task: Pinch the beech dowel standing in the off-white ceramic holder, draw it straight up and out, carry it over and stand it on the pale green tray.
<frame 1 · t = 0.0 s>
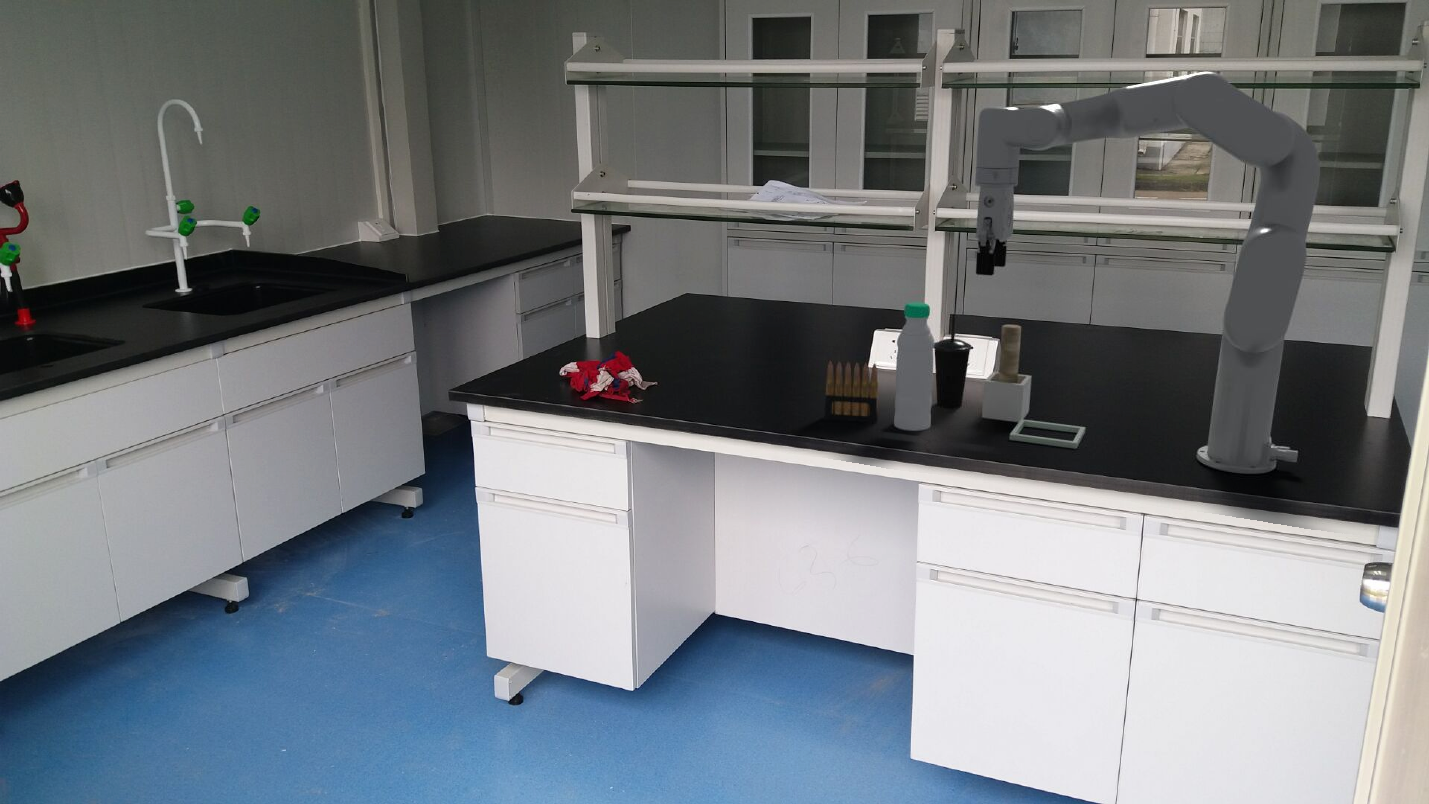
hand: (990, 270, 196), 31 cm above the worktop, tool pointing down, fingers open, 9 cm apart
water bottle: (912, 430, 206), on the worktop
dowel: (1005, 414, 211), point 1 cm above the worktop, touching holder
drinking cup: (948, 409, 218), on the worktop
tray: (1047, 440, 198), on the worktop
ammunition clip: (851, 420, 212), on the worktop
holder: (1005, 419, 211), on the worktop
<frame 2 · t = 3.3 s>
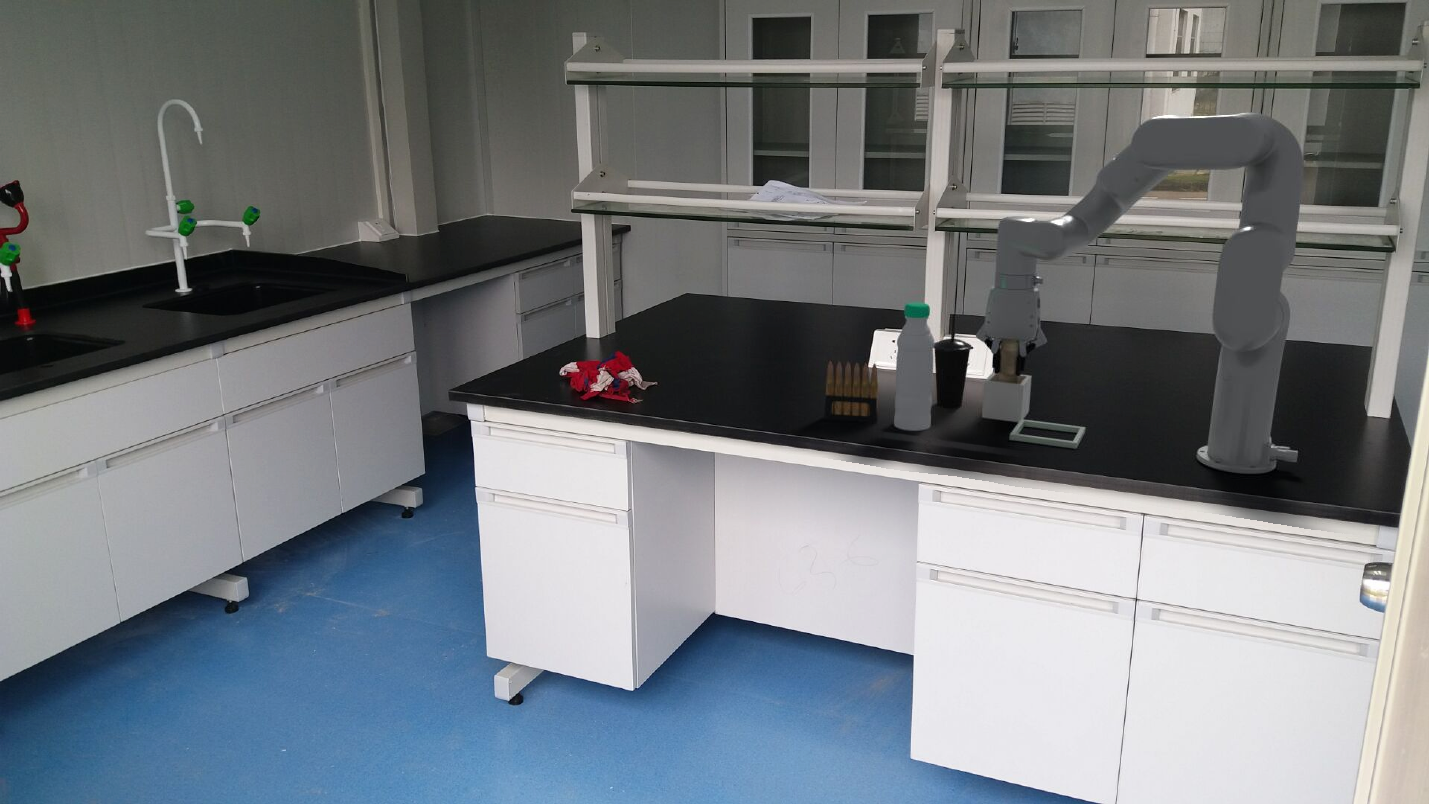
hand: (1008, 372, 208), 10 cm above the worktop, tool pointing down, fingers closed on dowel, 3 cm apart
dowel: (1005, 414, 211), point 1 cm above the worktop, touching gripper, holder
everything else where it was.
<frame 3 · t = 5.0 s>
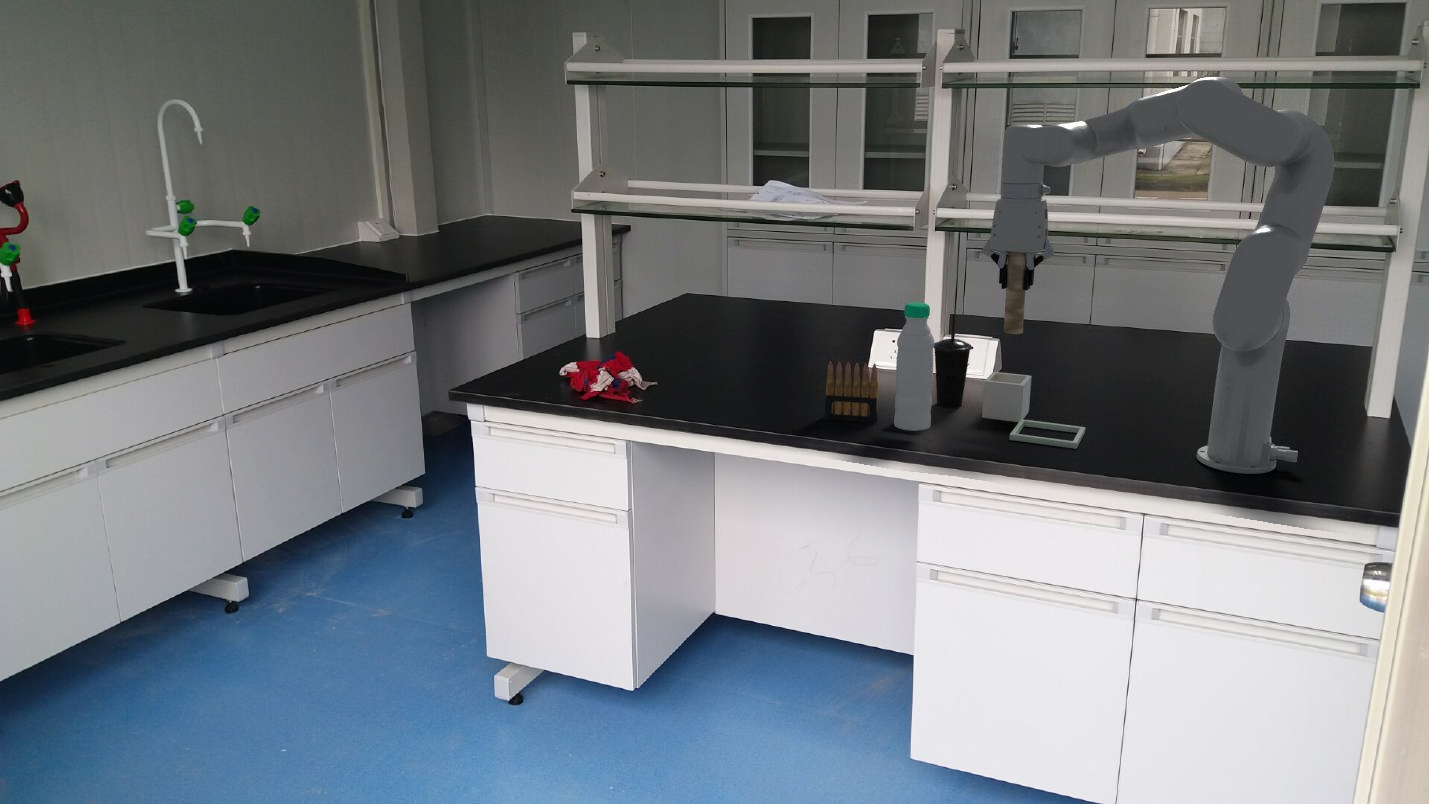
hand: (1015, 287, 203), 27 cm above the worktop, tool pointing down, fingers closed on dowel, 3 cm apart
dowel: (1013, 331, 206), point 18 cm above the worktop, touching gripper
everything else where it was.
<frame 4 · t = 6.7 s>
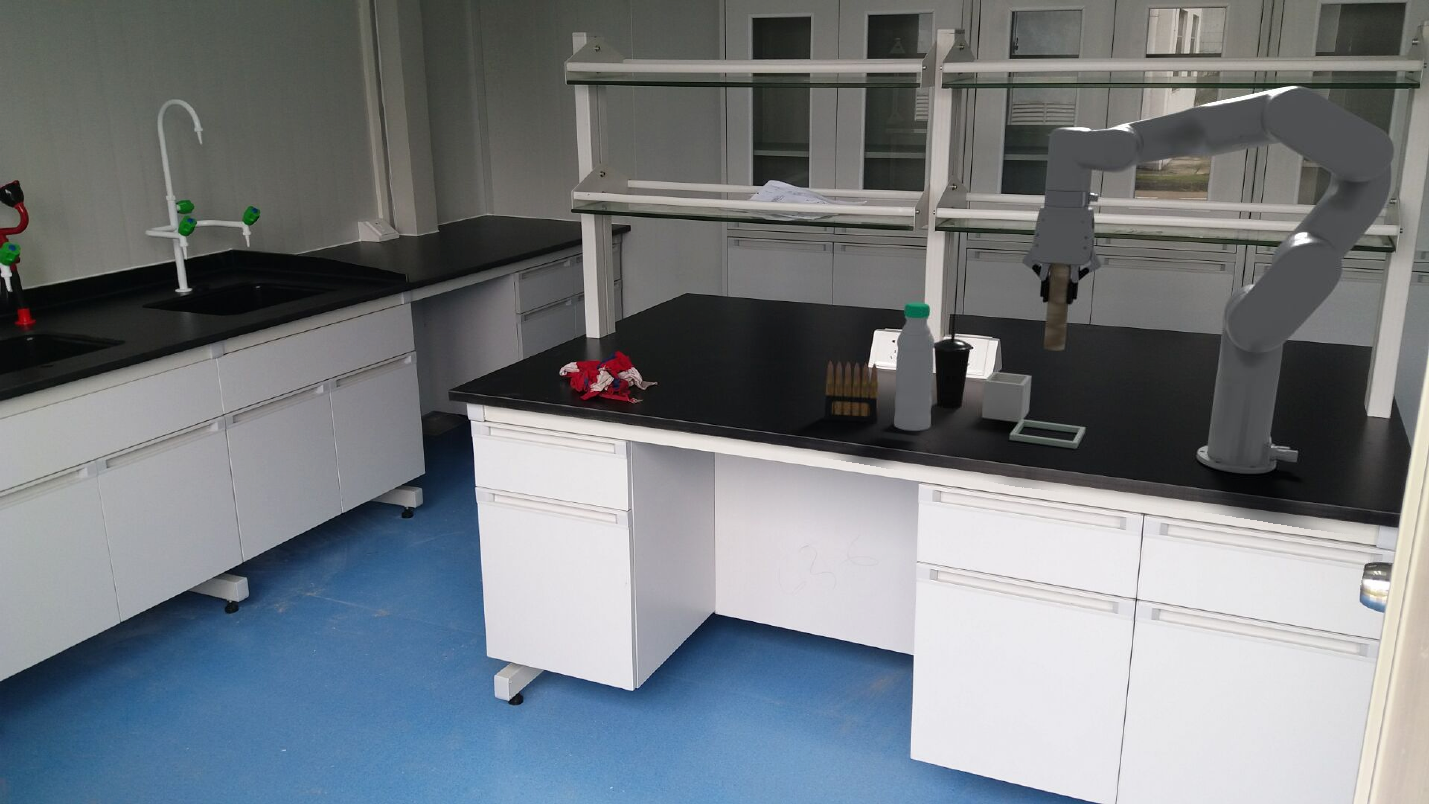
hand: (1058, 301, 190), 27 cm above the worktop, tool pointing down, fingers closed on dowel, 3 cm apart
dowel: (1054, 348, 193), point 18 cm above the worktop, touching gripper
everything else where it was.
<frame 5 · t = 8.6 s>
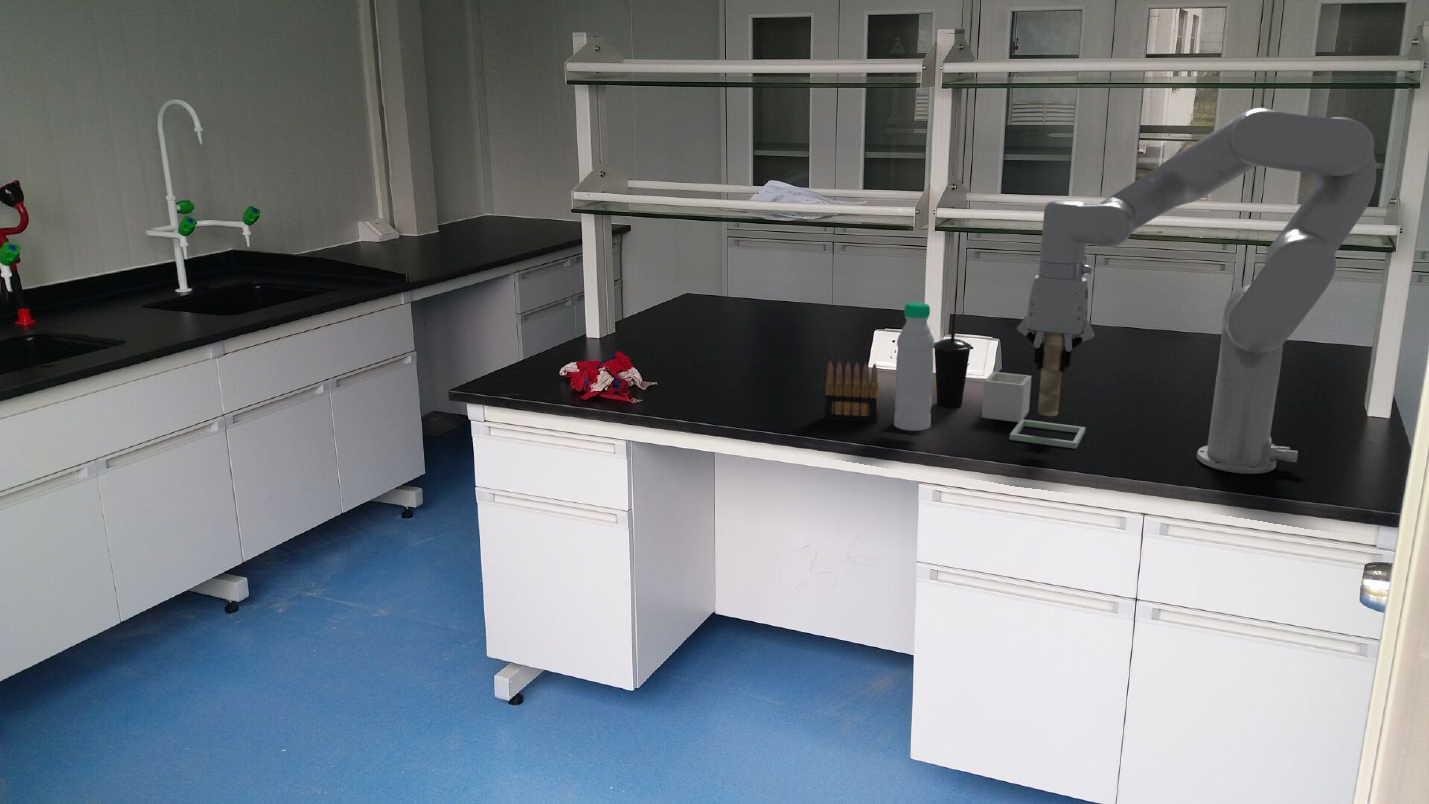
hand: (1051, 368, 194), 14 cm above the worktop, tool pointing down, fingers closed on dowel, 3 cm apart
dowel: (1047, 413, 197), point 5 cm above the worktop, touching gripper
everything else where it was.
when the fingers open (10 cm above the worktop, at t = 10.2 s): dowel stays where it is, resting on tray.
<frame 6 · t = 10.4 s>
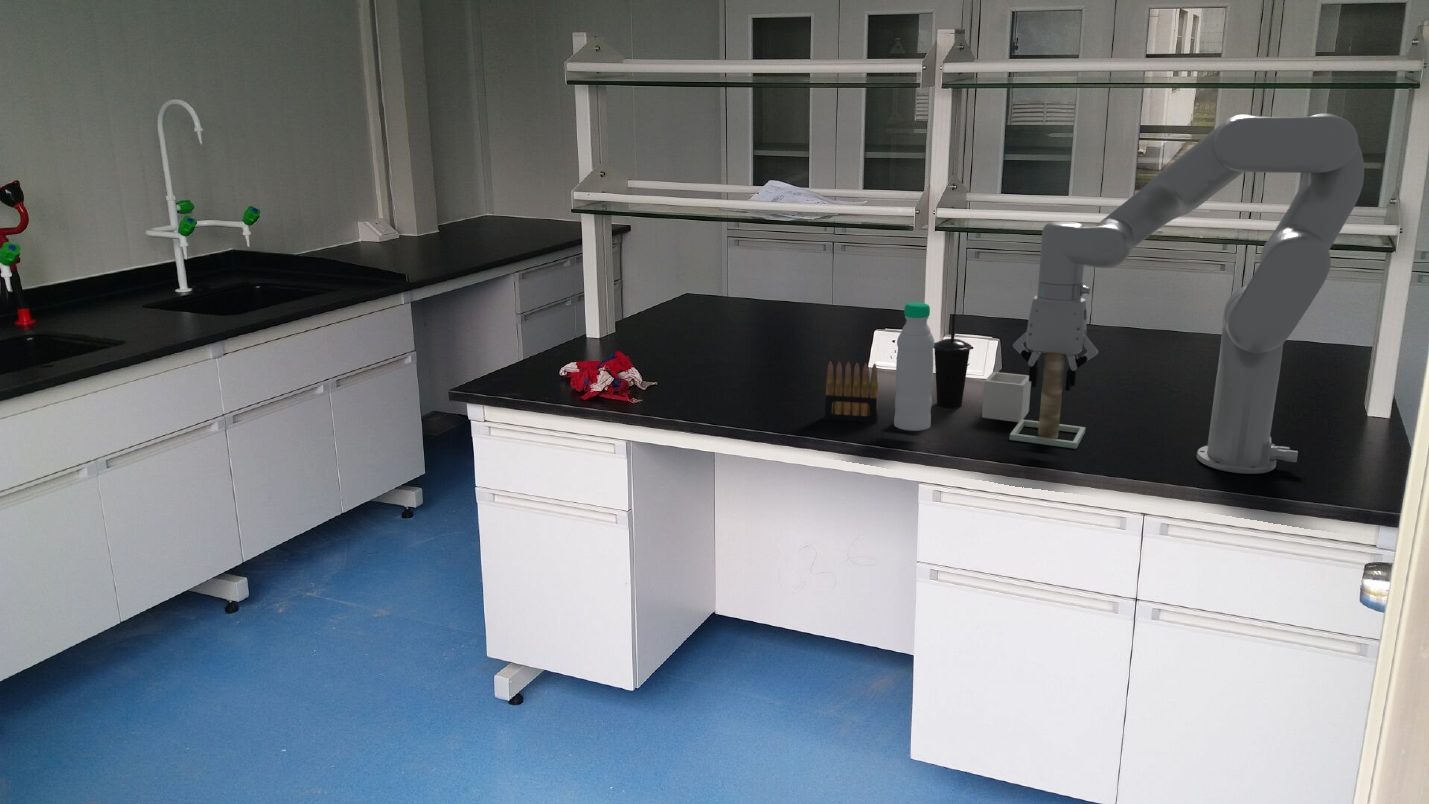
hand: (1051, 386, 195), 11 cm above the worktop, tool pointing down, fingers open, 5 cm apart
dowel: (1048, 436, 198), point 1 cm above the worktop, touching tray
everything else where it was.
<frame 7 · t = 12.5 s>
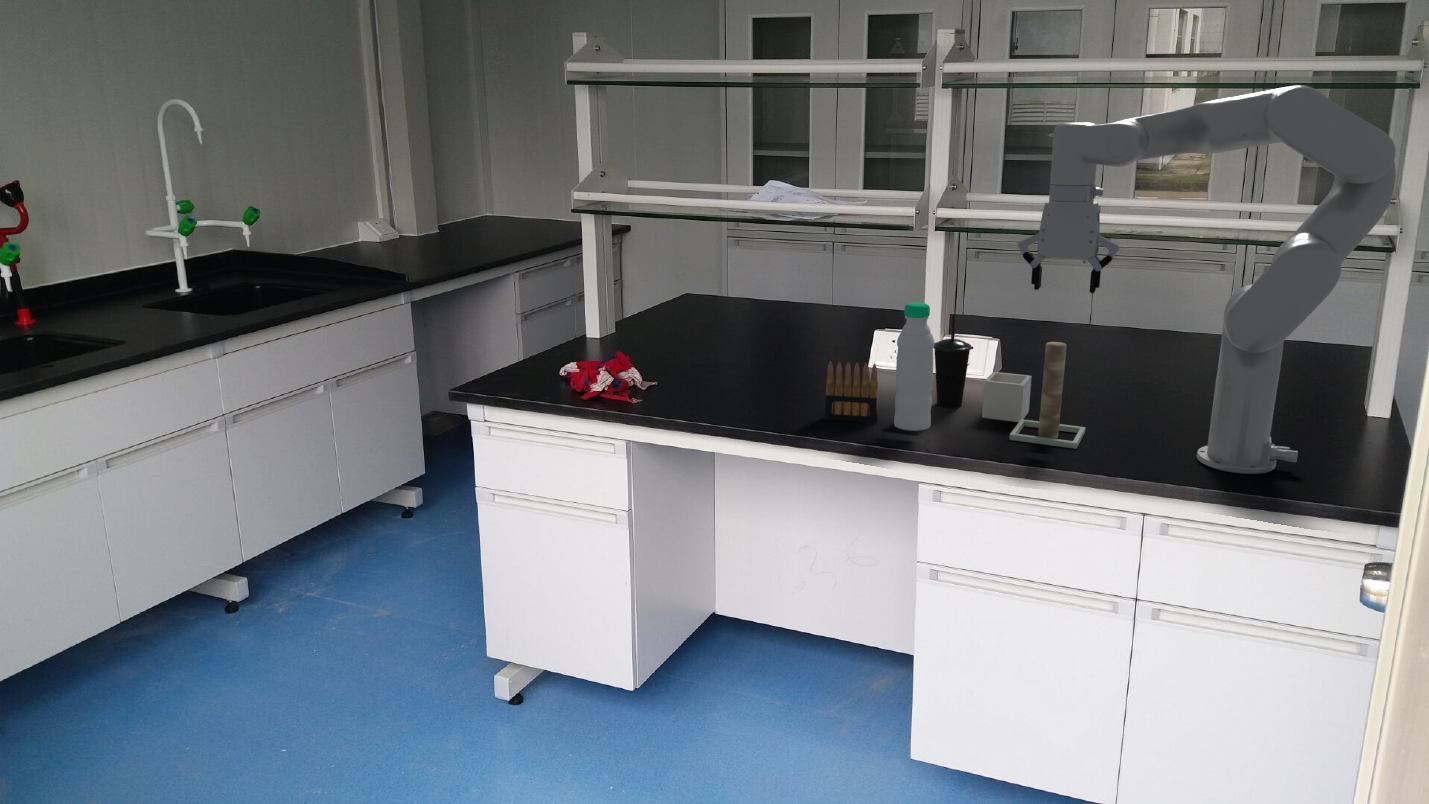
hand: (1064, 290, 191), 29 cm above the worktop, tool pointing down, fingers open, 9 cm apart
nothing on the worktop moved.
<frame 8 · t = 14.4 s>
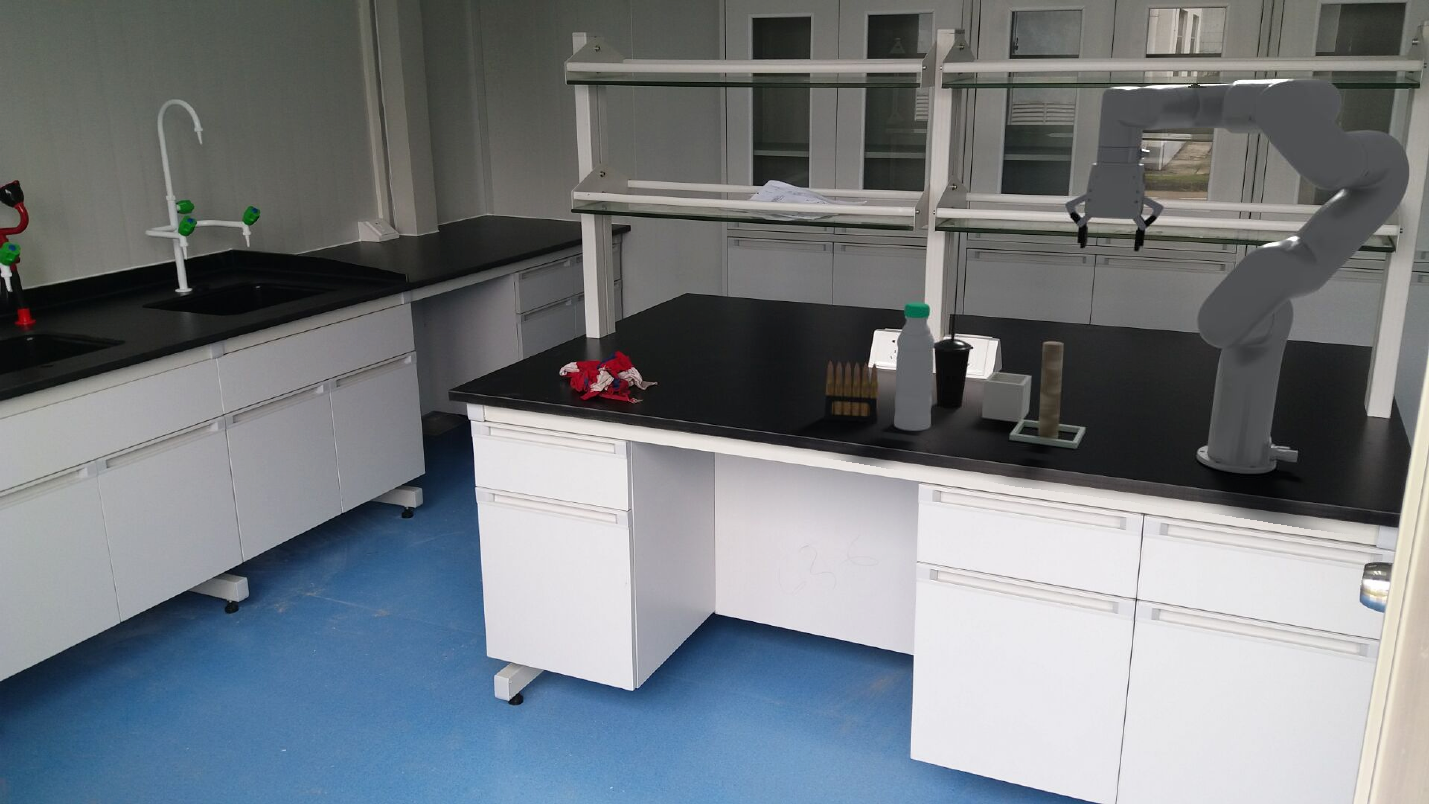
hand: (1109, 248, 199), 34 cm above the worktop, tool pointing down, fingers open, 9 cm apart
nothing on the worktop moved.
at the end: dowel inside the target area on the tray (0.1 cm from its centre), point 0.8 cm above the tray's base; dowel tilted 1°; the gripper is holding nothing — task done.
